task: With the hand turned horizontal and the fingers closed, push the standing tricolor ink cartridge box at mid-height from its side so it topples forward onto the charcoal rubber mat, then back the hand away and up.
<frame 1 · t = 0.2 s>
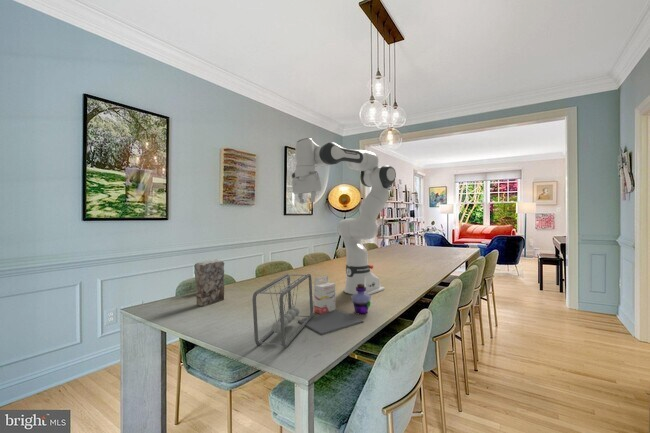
hand: (307, 202, 145), 47 cm above the table, tool pointing down, fingers open, 8 cm apart
newton's cradle: (287, 330, 112), on the table, touching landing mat
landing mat: (330, 322, 120), on the table
potion bottle: (361, 312, 131), on the table
ink cartridge box: (325, 311, 133), on the table
skincare box: (214, 290, 172), on the table
stone block: (210, 302, 149), on the table
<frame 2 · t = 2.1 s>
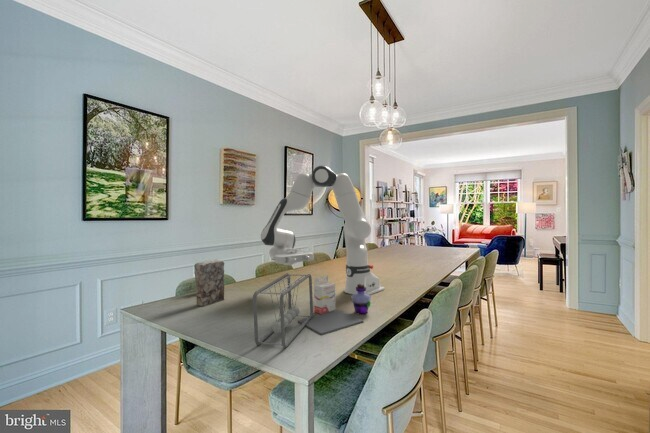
hand: (302, 259, 148), 20 cm above the table, tool horizontal, fingers open, 6 cm apart
nothing on the table moved.
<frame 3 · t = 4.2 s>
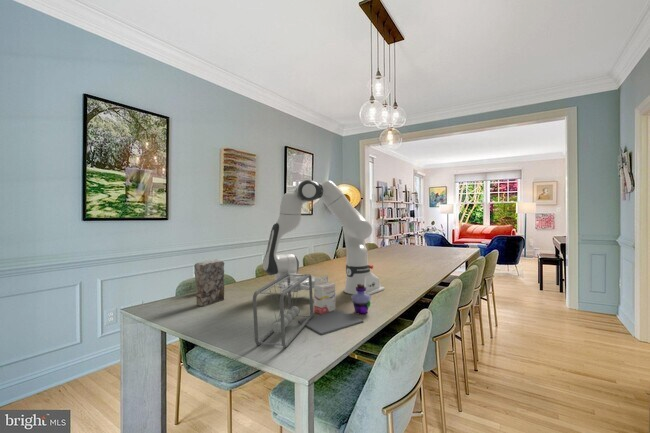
hand: (309, 288, 143), 8 cm above the table, tool horizontal, fingers closed
nothing on the table moved.
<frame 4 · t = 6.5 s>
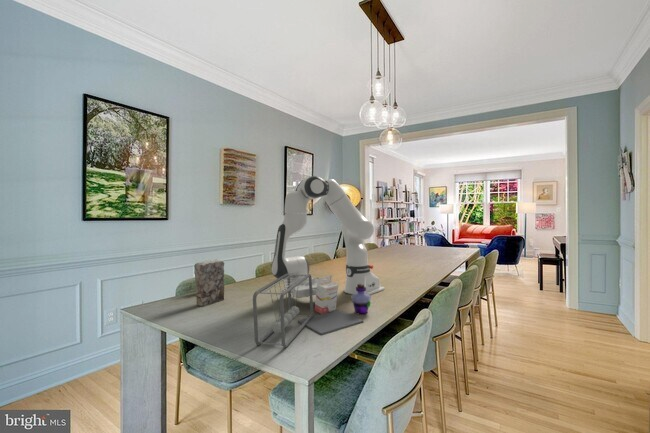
hand: (322, 292, 134), 8 cm above the table, tool horizontal, fingers closed
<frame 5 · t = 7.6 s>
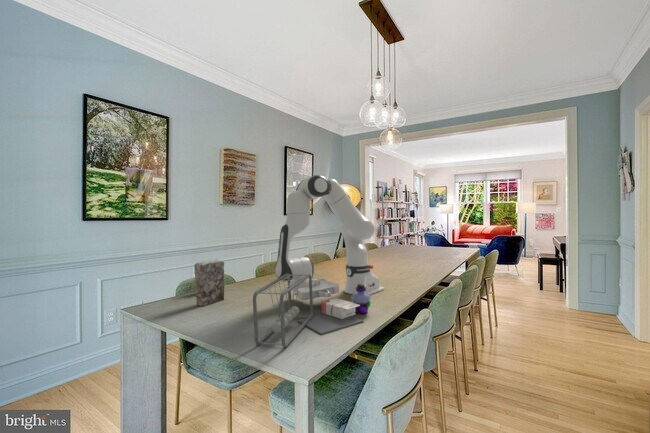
hand: (328, 295, 131), 8 cm above the table, tool horizontal, fingers closed
ink cartridge box: (328, 305, 132), point 3 cm above the table, touching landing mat
everything else where it was.
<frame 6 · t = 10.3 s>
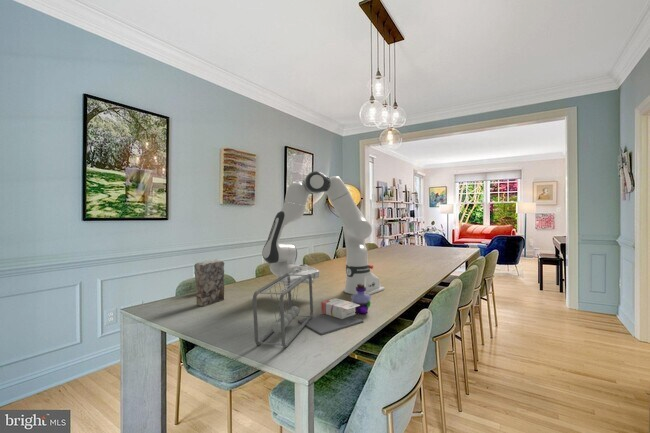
hand: (311, 281, 144), 10 cm above the table, tool horizontal, fingers closed
nothing on the table moved.
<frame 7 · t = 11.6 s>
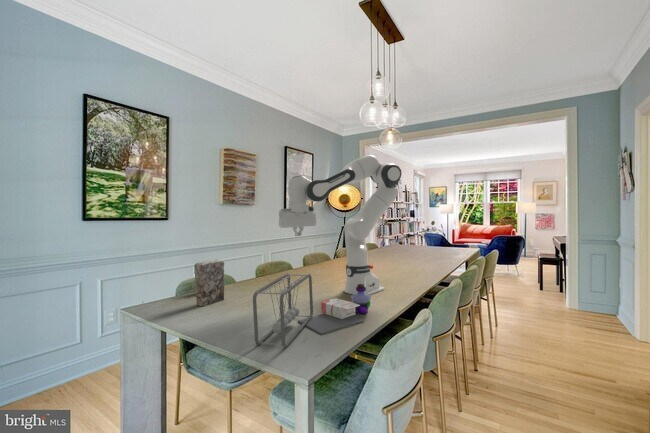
hand: (298, 236, 154), 31 cm above the table, tool pointing down, fingers closed
nothing on the table moved.
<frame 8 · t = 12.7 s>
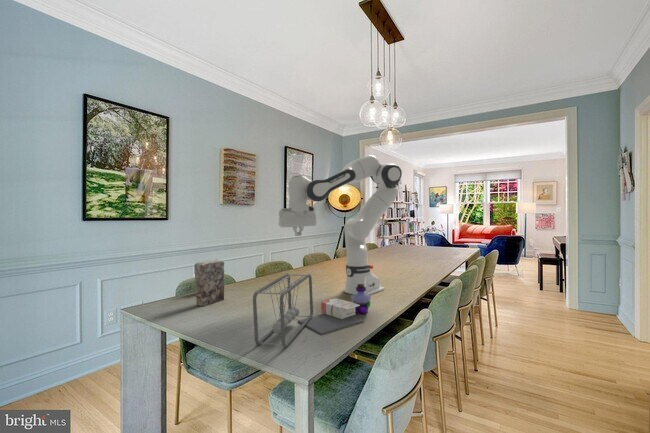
hand: (298, 235, 154), 31 cm above the table, tool pointing down, fingers closed
nothing on the table moved.
at the end: ink cartridge box tilted 89°; ink cartridge box touching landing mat; ink cartridge box inside the target area (10.4 cm from its centre), point 2.8 cm above the table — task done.
